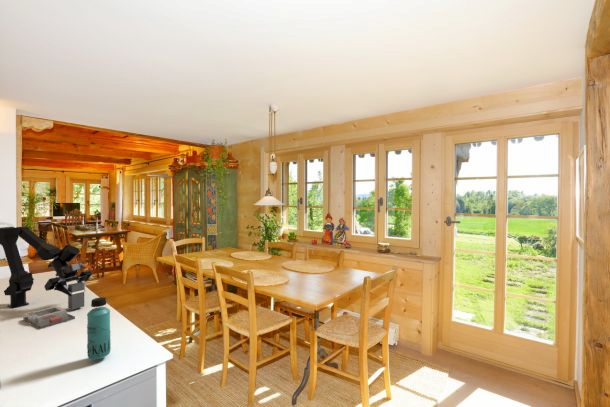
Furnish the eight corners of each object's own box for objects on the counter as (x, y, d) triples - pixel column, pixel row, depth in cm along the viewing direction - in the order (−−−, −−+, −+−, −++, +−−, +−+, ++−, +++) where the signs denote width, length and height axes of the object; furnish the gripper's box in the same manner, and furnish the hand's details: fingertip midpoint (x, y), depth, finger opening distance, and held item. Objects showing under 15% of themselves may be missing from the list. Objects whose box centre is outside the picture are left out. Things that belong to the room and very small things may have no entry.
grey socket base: (23, 320, 134) (23, 313, 134) (56, 311, 144) (56, 304, 144) (40, 329, 125) (40, 321, 125) (74, 318, 135) (74, 312, 135)
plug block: (68, 307, 146) (67, 284, 145) (80, 304, 150) (80, 282, 150) (72, 309, 143) (72, 285, 143) (84, 306, 148) (84, 283, 148)
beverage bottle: (94, 354, 104) (93, 295, 104) (115, 353, 104) (114, 294, 104) (82, 365, 97) (81, 302, 97) (104, 364, 98) (103, 301, 98)
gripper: (47, 261, 139) (64, 288, 135) (89, 254, 156) (105, 277, 153) (37, 277, 142) (53, 304, 138) (79, 268, 159) (94, 292, 156)
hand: (78, 293), depth 146 cm, fingers closed on plug block, 5 cm apart
